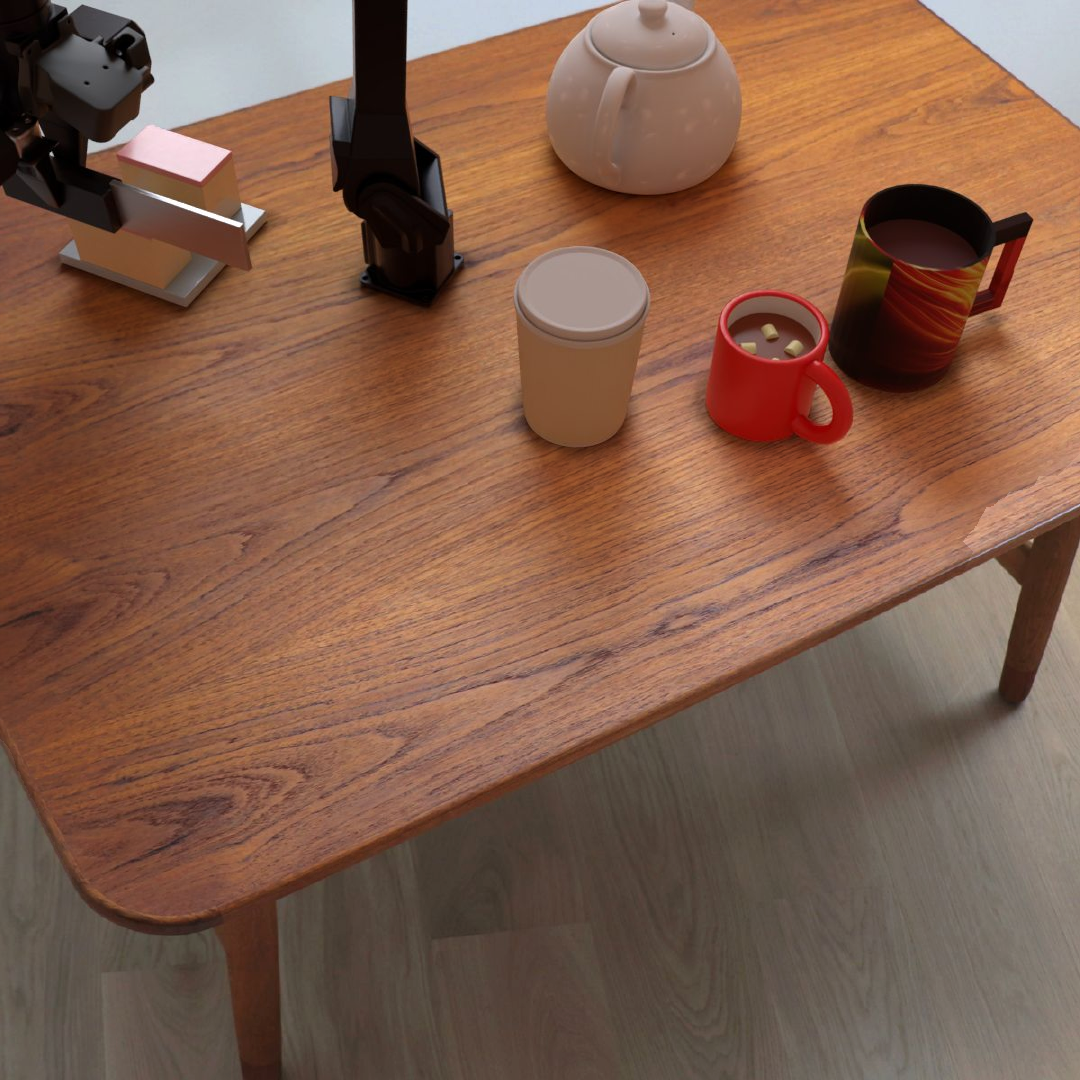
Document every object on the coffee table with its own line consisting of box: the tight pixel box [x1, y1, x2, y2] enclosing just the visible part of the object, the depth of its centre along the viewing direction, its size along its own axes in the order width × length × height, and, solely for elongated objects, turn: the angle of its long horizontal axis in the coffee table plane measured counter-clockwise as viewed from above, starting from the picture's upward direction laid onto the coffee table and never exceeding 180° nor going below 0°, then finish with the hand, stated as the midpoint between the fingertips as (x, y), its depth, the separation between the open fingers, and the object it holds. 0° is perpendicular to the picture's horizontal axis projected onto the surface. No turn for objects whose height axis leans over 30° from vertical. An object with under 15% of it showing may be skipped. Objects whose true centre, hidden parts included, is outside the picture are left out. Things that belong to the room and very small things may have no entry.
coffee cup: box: [513, 245, 651, 448], centre depth 97 cm, size 9×9×12 cm
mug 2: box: [827, 183, 1034, 393], centre depth 103 cm, size 10×14×12 cm
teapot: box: [545, 0, 743, 196], centre depth 116 cm, size 19×18×14 cm
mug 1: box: [704, 289, 854, 446], centre depth 99 cm, size 8×12×8 cm, turn 43°
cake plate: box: [58, 123, 268, 308], centre depth 110 cm, size 12×12×7 cm
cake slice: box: [66, 217, 192, 289], centre depth 107 cm, size 8×4×6 cm, turn 65°
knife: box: [1, 154, 253, 273], centre depth 98 cm, size 21×2×4 cm, turn 64°
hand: (66, 196), depth 100 cm, fingers closed on knife, 2 cm apart
